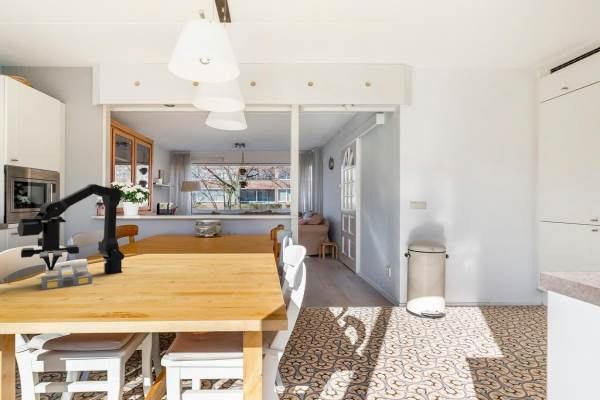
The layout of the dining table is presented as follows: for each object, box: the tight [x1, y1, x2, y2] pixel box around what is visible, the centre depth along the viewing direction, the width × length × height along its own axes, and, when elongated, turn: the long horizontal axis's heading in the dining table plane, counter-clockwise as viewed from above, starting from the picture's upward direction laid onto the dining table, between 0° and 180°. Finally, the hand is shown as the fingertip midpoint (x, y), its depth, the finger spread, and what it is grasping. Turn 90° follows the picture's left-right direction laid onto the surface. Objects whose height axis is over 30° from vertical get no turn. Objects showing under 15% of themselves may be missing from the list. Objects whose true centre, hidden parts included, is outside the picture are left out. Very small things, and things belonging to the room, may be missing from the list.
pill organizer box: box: [40, 270, 93, 291], centre depth 136 cm, size 16×12×3 cm
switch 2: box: [60, 265, 73, 278], centre depth 136 cm, size 4×9×1 cm, turn 39°
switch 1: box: [44, 269, 58, 276], centre depth 133 cm, size 4×9×1 cm, turn 39°
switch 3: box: [75, 267, 89, 272], centre depth 139 cm, size 4×9×1 cm, turn 39°
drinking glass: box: [45, 258, 89, 274], centre depth 151 cm, size 7×7×15 cm
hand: (50, 271), depth 137 cm, fingers closed, pressing on switch 1
